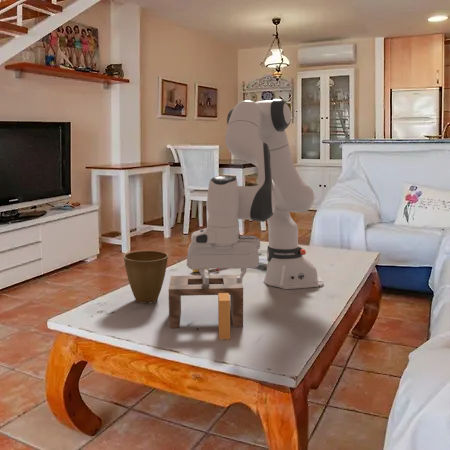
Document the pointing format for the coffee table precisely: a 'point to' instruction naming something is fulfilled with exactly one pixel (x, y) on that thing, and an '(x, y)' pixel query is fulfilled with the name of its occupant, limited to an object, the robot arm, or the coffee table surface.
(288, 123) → the robot arm
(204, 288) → the wooden table with hole
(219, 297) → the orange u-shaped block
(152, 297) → the plant pot
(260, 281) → the coffee table surface
